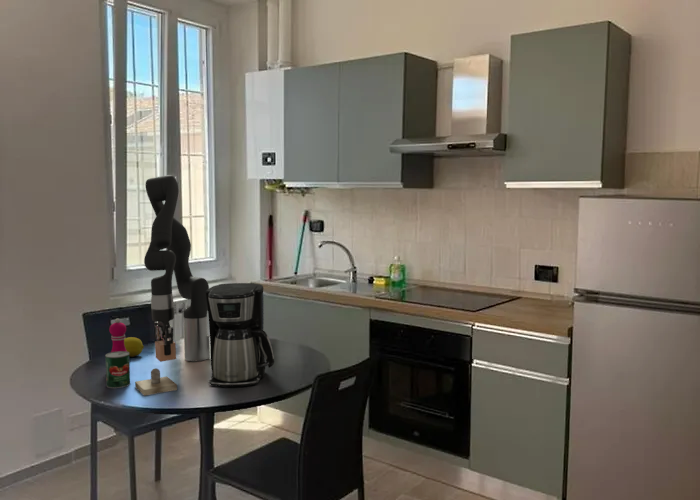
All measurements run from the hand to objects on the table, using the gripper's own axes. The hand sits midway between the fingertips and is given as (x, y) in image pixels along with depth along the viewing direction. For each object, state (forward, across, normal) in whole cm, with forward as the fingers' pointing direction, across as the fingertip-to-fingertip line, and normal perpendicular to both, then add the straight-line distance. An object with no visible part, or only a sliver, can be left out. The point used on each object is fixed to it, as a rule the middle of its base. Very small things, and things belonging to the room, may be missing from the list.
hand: (164, 353), depth 223 cm
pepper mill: (+10, +22, +10) cm, 27 cm away
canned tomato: (+10, +4, +15) cm, 19 cm away
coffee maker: (+11, -11, -26) cm, 30 cm away
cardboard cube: (+2, 0, 0) cm, 2 cm away
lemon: (+10, +41, +1) cm, 43 cm away
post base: (+10, -8, +6) cm, 14 cm away
